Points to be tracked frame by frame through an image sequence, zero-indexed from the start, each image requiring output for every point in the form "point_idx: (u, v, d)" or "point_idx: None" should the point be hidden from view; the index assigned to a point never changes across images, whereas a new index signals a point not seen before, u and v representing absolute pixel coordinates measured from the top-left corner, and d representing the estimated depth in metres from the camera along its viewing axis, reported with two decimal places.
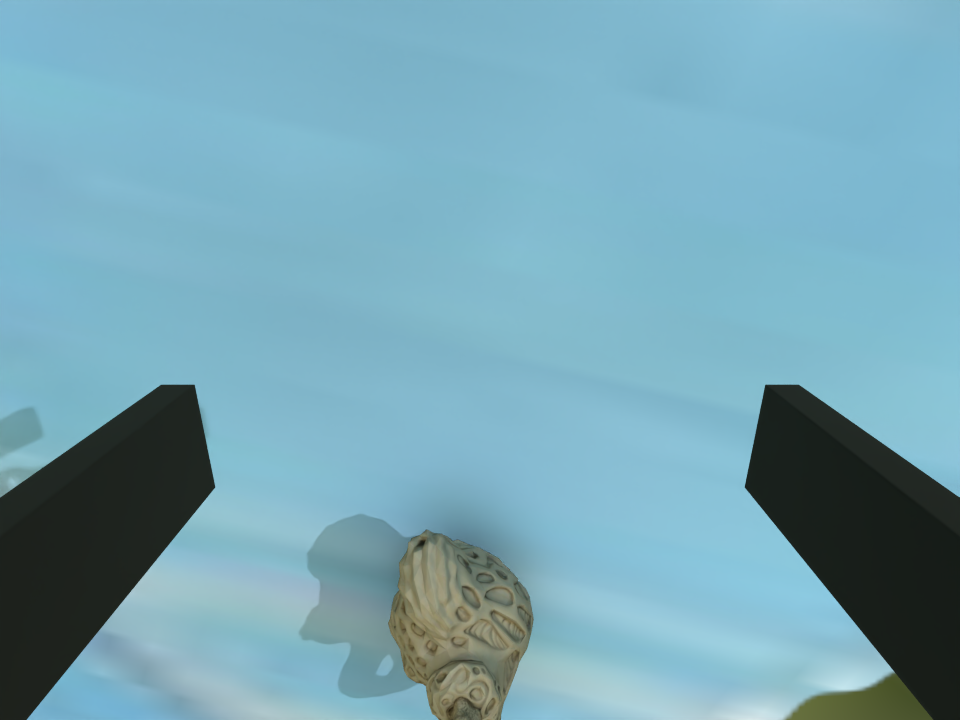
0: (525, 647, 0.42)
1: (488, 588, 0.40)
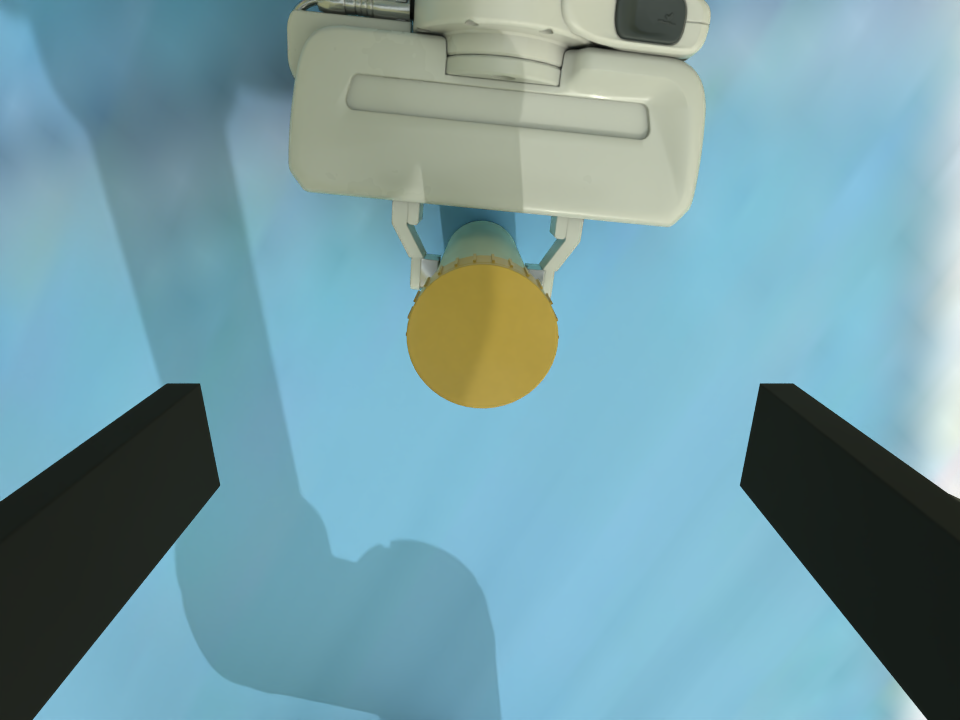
0: None
1: None
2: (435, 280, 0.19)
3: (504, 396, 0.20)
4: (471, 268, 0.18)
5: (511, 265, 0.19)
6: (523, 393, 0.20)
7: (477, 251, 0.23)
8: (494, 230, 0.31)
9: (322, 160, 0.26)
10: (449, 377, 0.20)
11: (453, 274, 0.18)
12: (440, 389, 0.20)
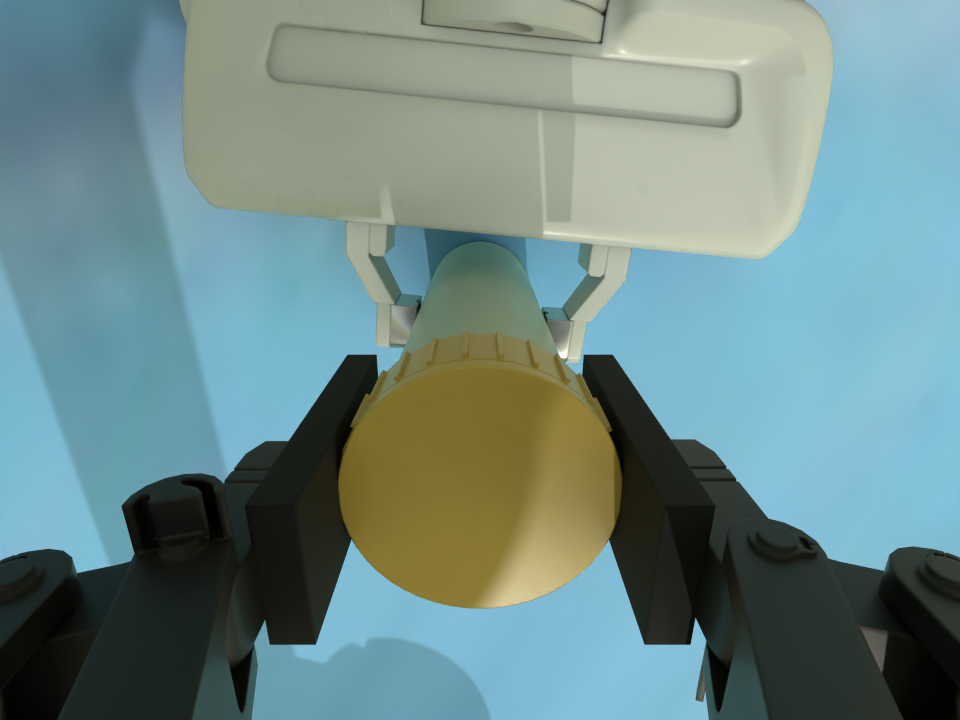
0: None
1: None
2: (388, 395, 0.10)
3: (520, 590, 0.11)
4: (458, 373, 0.09)
5: (535, 362, 0.10)
6: (555, 585, 0.11)
7: (472, 310, 0.14)
8: (498, 259, 0.22)
9: (234, 160, 0.17)
10: (419, 560, 0.11)
11: (423, 384, 0.09)
12: (403, 579, 0.11)
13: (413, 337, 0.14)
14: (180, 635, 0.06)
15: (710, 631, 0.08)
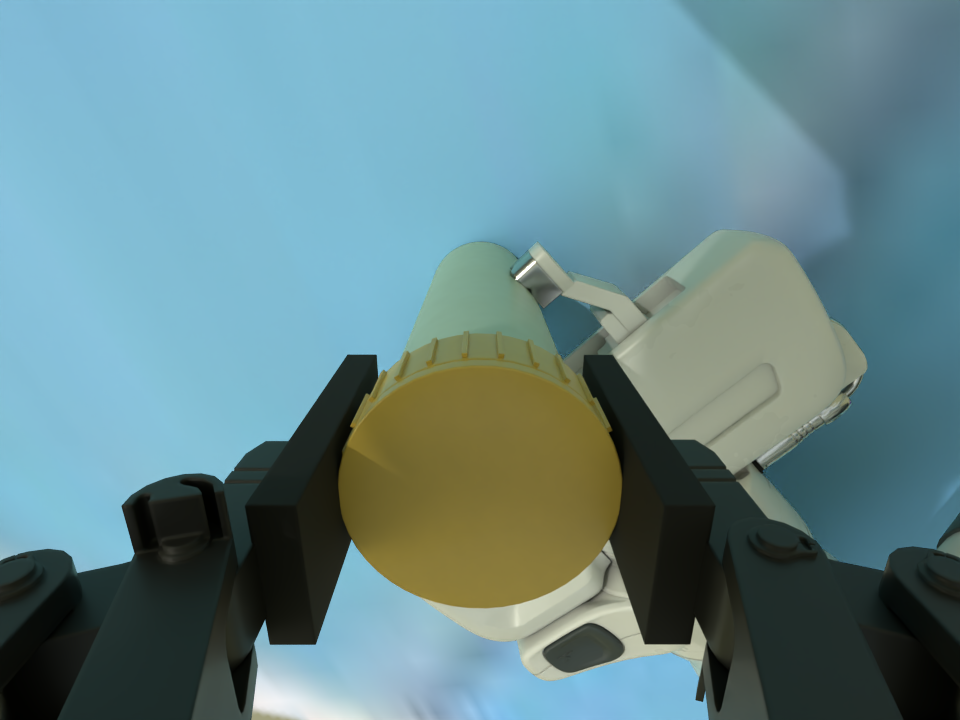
0: None
1: None
2: (388, 395, 0.10)
3: (520, 590, 0.11)
4: (458, 373, 0.09)
5: (535, 362, 0.10)
6: (555, 585, 0.11)
7: None
8: None
9: (757, 293, 0.19)
10: (419, 560, 0.11)
11: (423, 384, 0.09)
12: (403, 579, 0.11)
13: None
14: (180, 635, 0.06)
15: (710, 631, 0.08)
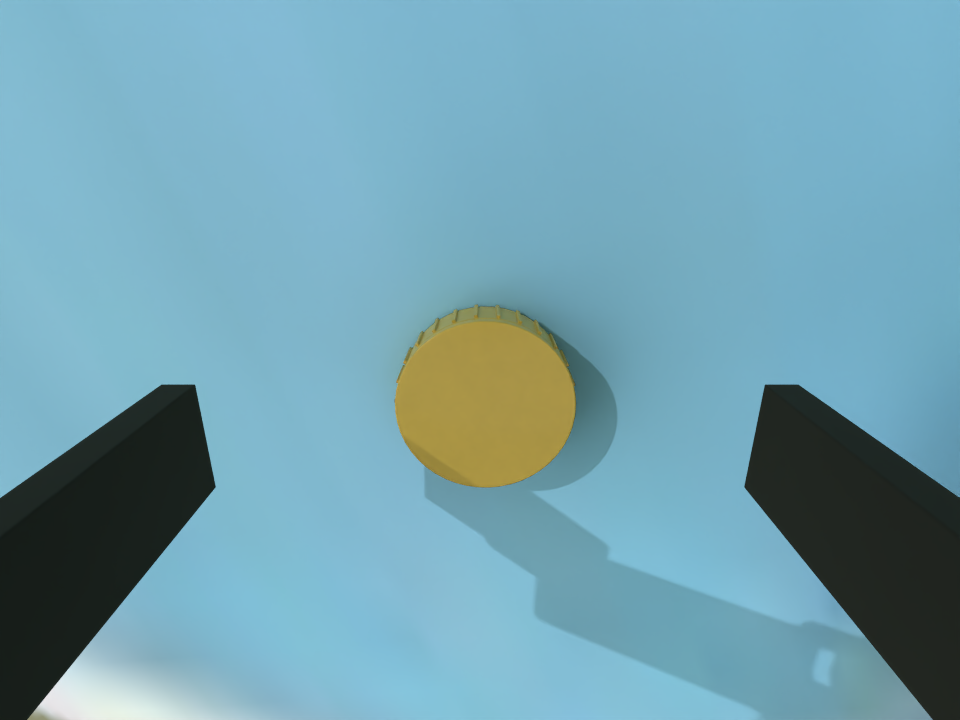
0: None
1: None
2: (429, 340, 0.15)
3: (511, 474, 0.17)
4: (472, 326, 0.15)
5: (520, 321, 0.16)
6: (534, 470, 0.17)
7: None
8: None
9: None
10: (446, 452, 0.17)
11: (450, 333, 0.15)
12: (435, 466, 0.17)
13: None
14: None
15: None
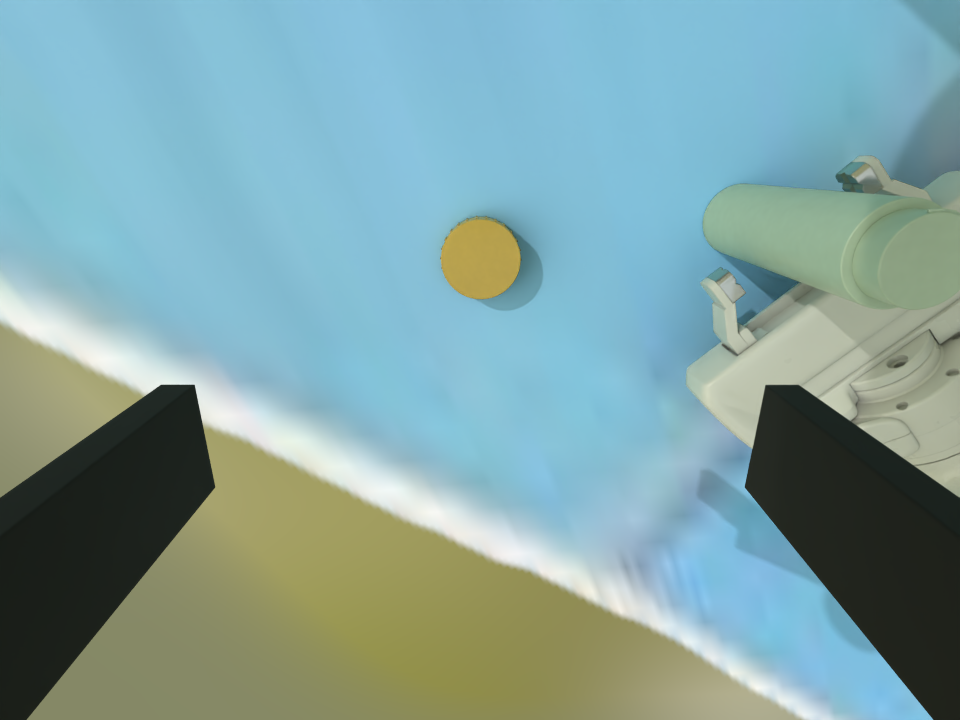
0: None
1: None
2: (456, 228, 0.36)
3: (492, 292, 0.38)
4: (475, 221, 0.36)
5: (495, 220, 0.36)
6: (502, 290, 0.37)
7: None
8: None
9: None
10: (463, 281, 0.37)
11: (465, 225, 0.36)
12: (458, 288, 0.37)
13: None
14: None
15: None
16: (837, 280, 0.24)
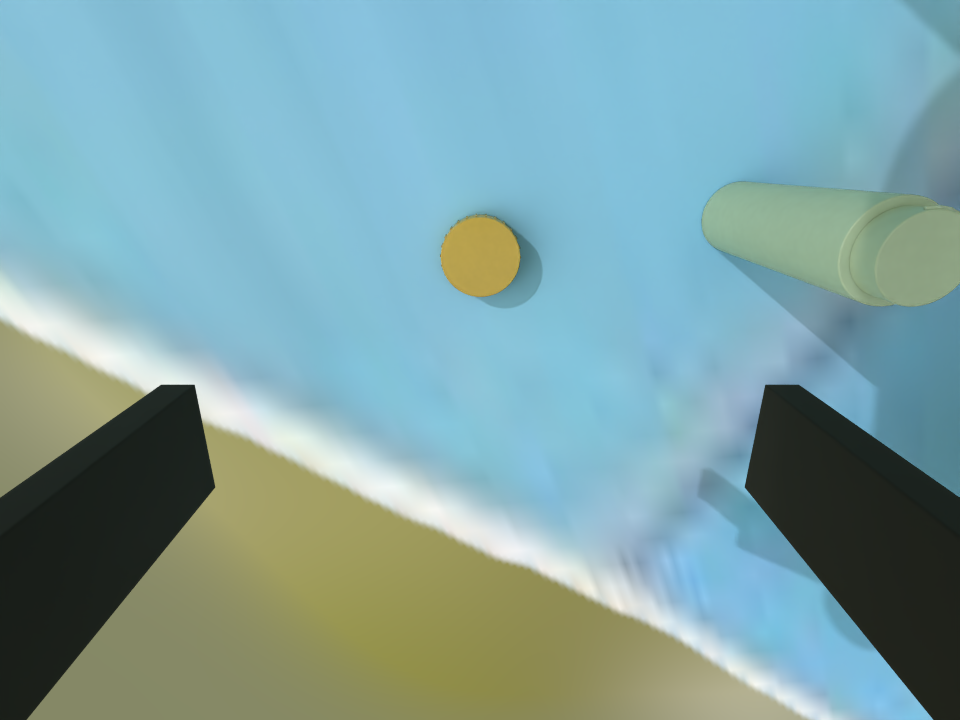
0: None
1: None
2: (456, 226, 0.36)
3: (492, 289, 0.38)
4: (474, 219, 0.36)
5: (495, 218, 0.36)
6: (502, 288, 0.38)
7: None
8: None
9: None
10: (463, 279, 0.37)
11: (465, 222, 0.36)
12: (458, 285, 0.38)
13: None
14: None
15: None
16: (835, 277, 0.24)
